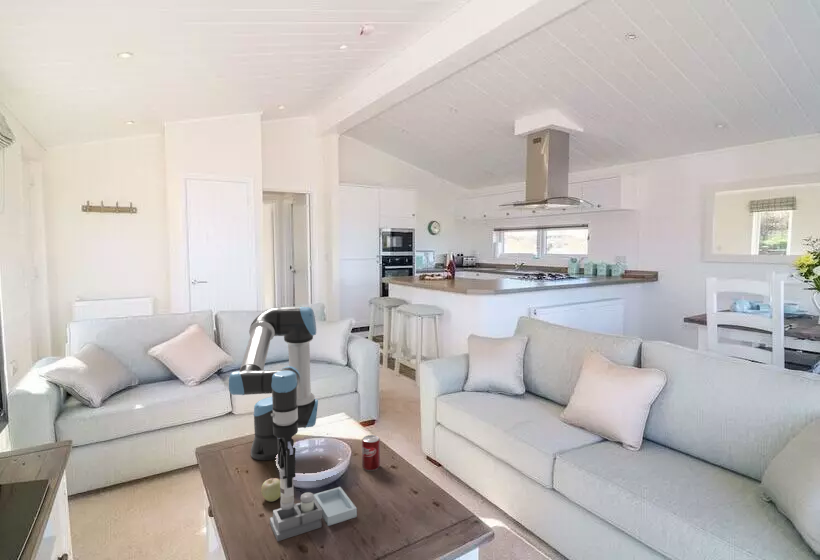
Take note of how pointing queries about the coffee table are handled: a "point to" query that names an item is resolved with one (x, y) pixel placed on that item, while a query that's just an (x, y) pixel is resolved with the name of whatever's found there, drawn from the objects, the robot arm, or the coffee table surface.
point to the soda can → (371, 452)
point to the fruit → (271, 489)
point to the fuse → (284, 502)
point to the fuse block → (297, 518)
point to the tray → (335, 506)
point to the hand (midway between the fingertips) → (287, 491)
